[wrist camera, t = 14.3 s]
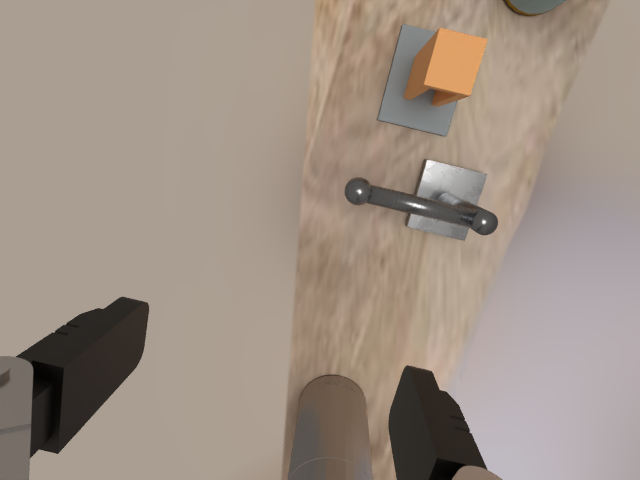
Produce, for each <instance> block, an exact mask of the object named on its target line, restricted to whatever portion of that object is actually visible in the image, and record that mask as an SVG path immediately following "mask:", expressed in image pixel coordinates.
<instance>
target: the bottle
mask: <svg viewBox="0 0 640 480" xmlns="http://www.w3.org/2000/svg"><path fill="white" fill-rule="evenodd" d="M564 1H566V0H506V2H507V3H508V5H509V6H510V7H511V8H512V9H514V10H515V11H516V12H518V13H521V14H523V15H539V14H542V13H545V12H547V11H549V10H551V9H553V8H555V7H556V6H558V5H559V4H561V3H563V2H564Z"/></svg>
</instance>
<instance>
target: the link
mask: <svg viewBox="0 0 640 480" xmlns="http://www.w3.org/2000/svg"><path fill="white" fill-rule="evenodd" d="M487 41H488V39H484V38H480V37H476V36H472V35H468V34H464V33H460V32H455V31H451V30H447V29H443V28H439V29H438V30H437V32H436V33H435V34H434V35H433V36H432V37H431V38H430V40H429V41H428V42H427V43H426V44H425V45H424V47H423V48H422V49H421V50H420V51H419V52H418V53H417V55H416V56H415V57H414V61H413V65H412V68H411V72H410V76H409V79H408V83H407V87H406V90H405V94H404V98H403V99H407V100H411V99H413V98H415V97H417V96H418V95H420V94H422V93H423V92H425V91H427V90H428V89H430V88H431V89H435V94H434V97H433V101H432V104H431V105H432V106H436V107H440V106H442V105H445V104H448V103H451V102H454V101H457V100H459V99H462V98H465V97H468V96H470V95H471V91H472V88H473V85H474V82H475V79H476V75H477V72H478V69H479V66H480V63H481V60H482V56H483V53H484V50H485V47H486V44H487Z"/></svg>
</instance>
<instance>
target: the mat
mask: <svg viewBox="0 0 640 480" xmlns="http://www.w3.org/2000/svg"><path fill="white" fill-rule="evenodd" d="M435 33H436V32H434V31H430V30H426V29H422V28H417V27H413V26H409V25H405V24H403V25H402V28H401V32H400V35H399V39H398V43H397V47H396V51H395V55H394V58H393V62H392V66H391V70H390V74H389V78H388V81H387V85H386V89H385V93H384V97H383V101H382V104H381V108H380V112H379V116H378V120H380V121H384V122H388V123H392V124H397V125H401V126H405V127H409V128H413V129H417V130H421V131H425V132H429V133H434V134H438V135H442V136H447V133H448V130H449V127H450V123H451V120H452V117H453V114H454V110H455V107H456V104H457V101H458V100H457V101H454V102H451V103H448V104H445V105H442V106H440V107H436V106H432V105H431V104H432V101H433V97H434V94H435V89H431V88H430V89H428V90H427V91H425V92H423V93H422V94H420V95H418V96H417V97H415V98H413V99H411V100H407V99H403V98H404V94H405V90H406V87H407V83H408V79H409V76H410V72H411V68H412V65H413V61H414V57H415V56H416V55H417V53H418V52H419V51H420V50H421V49H422V48H423V47H424V45H425V44H426V43H427V42H428V41H429V40H430V38H431V37H432V36H433V35H434V34H435Z"/></svg>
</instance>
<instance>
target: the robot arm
mask: <svg viewBox="0 0 640 480" xmlns="http://www.w3.org/2000/svg"><path fill="white" fill-rule="evenodd" d="M148 314H149V305H148V303H147V302H143V301H139V300H134V299H130V298H126V297H120V298H119V299H117V300H116V301H114V302H113V303H112V304H110V305H109V306H107V307H106V308H104V309H99V308H98V309H95V310H91V311H88V312H85V313H82V314H80V315H78V316H77V317H75V318H74V319H72V320H71V321H69V322H68V323H67V324H66V325H63V326H62V327H60V328H59V329H57V330H56V331H55V333H51V334H49V335H48V336H46V337H45V338H43V339H42V340H40V341H39V342H37V343H36V344H34V345H33V346H31V347H30V348H28V349H27V350H25V351H24V352H22V353H21V354H19V355H18V356H16V357H10V356H1V357H0V480H29V465H30V458H31V457H32V456H33V455H34V454H35V453H36V451H38V450H39V449H40V450H44V451H48V452H53V453H57V454H58V453H59V452H60V451H61V450H62V449H63V448H64V446H66V444H67V443H68V442H69V441H70V440H71V439H72V438H73V437H74V435H76V433H77V432H78V431H79V430H80V429H81V428H82V427H83V426H84V425H85V423H86V422H87V421H88V420H89V419H90V418H91V416H93V415H94V413H95V412H96V411H97V410H98V409H99V408H100V407H101V406H102V405H103V403H104V402H105V401H106V400H107V399H108V398H109V397H110V396H111V395H112V394H113V392H114V391H115V390H116V389H117V388H118V387H119V386H120V385H121V384H122V383H123V381H124V380H125V379H126V378H127V377H128V376H129V375H130V374H131V373H132V372H133V370H134V369H135V368H136V367H137V365H138V363H139V361H140V359H141V357H142V354H143V350H144V345H145V337H146V329H147V322H148ZM389 435H390V441H391V447H392V453H393V459H394V465H395V471H396V477H397V480H502V479H501V478H499V477H498V476H497V475H495V474H494V473H492V472H490V471H488V470H487V468H486V465H485V463H484V461H483V459H482V456H481V454H480V452H479V450H478V447H477V445H476V443H475V441H474V438H473V436H472V434H471V433H470V429H469V427H468V425H467V423H466V421H465V418H464V416H463V414H462V412H461V410H460V407H459V405H458V404H457V403H456V402H455V401H454V399H453V398H452V397H451V396H450V395H449V394H448V393H447V392H445V391H441V390H439V387H438V385H437V382H436V380H435V377H434V375H433V373H432V371H429V370H425V369H421V368H416V367H412V366H406V367H405V368H404V370H403V373H402V376H401V379H400V382H399V385H398V388H397V391H396V394H395V397H394V400H393V403H392V406H391V409H390V414H389ZM288 480H373V473H372V462H371V452H370V441H369V430H368V418H367V408H366V400H365V396H364V394H363V392H362V390H361V389H360V388H359V386H357V385H356V384H355V383H354V382H352V381H351V380H349V379H347V378H344V377H341V376H334V375H332V376H324V377H320V378H318V379H315V380H313V381H312V382H311V383H309V384H308V385H307V387H306V388H305V389H304V391H303V393H302V395H301V399H300V405H299V411H298V417H297V423H296V429H295V436H294V442H293V448H292V455H291V461H290V468H289V474H288Z"/></svg>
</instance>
